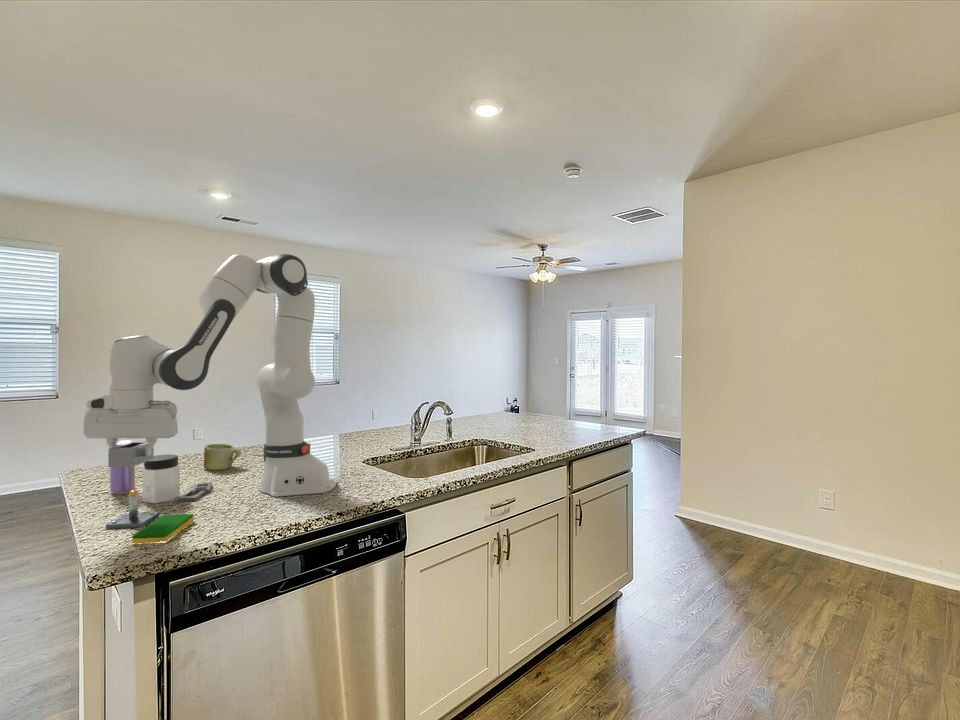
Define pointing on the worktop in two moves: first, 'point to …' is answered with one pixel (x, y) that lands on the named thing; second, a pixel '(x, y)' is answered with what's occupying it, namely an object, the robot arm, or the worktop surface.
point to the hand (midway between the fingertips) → (131, 455)
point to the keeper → (132, 515)
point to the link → (128, 455)
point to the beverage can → (122, 477)
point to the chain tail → (196, 492)
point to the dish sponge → (163, 528)
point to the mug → (219, 456)
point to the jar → (161, 479)
